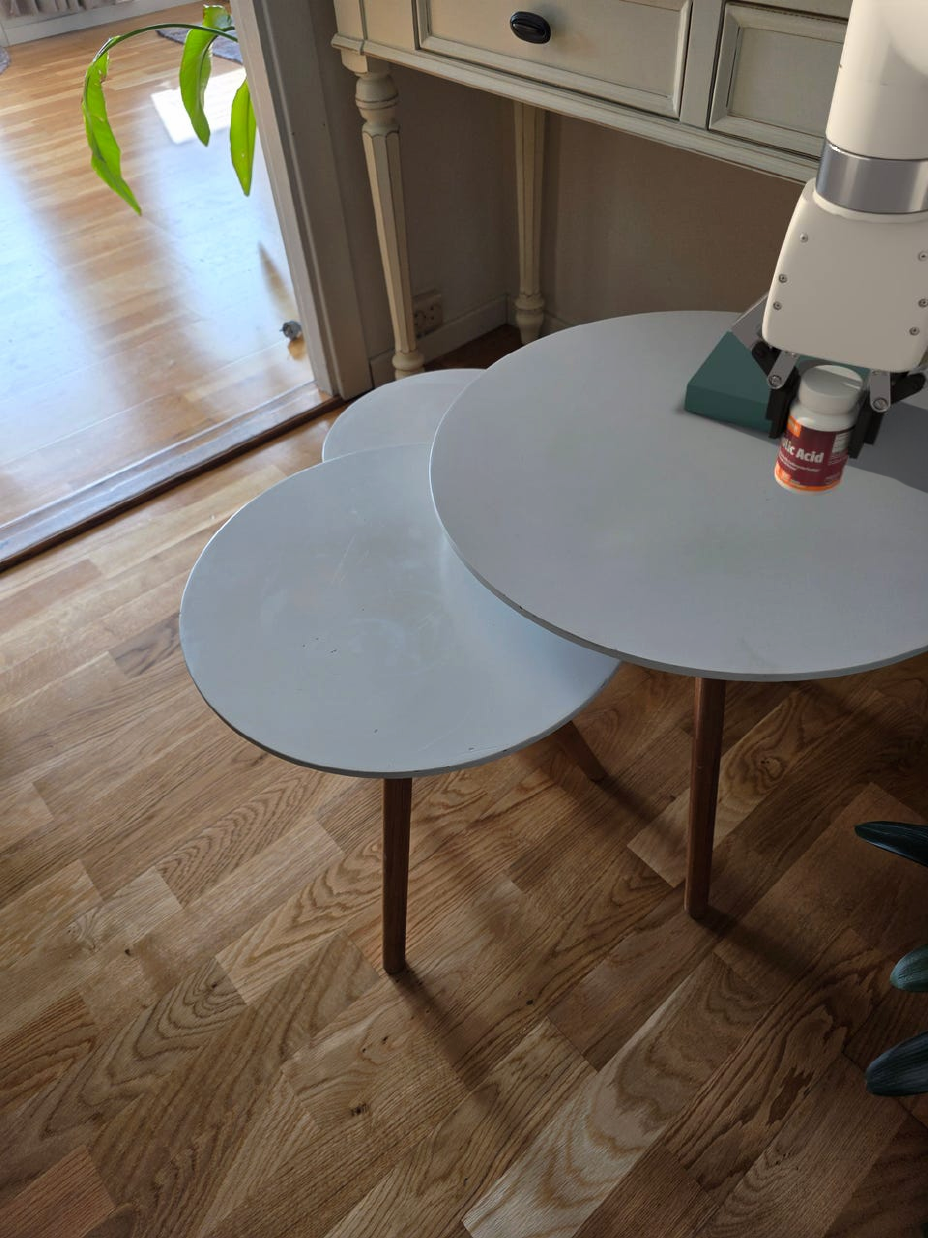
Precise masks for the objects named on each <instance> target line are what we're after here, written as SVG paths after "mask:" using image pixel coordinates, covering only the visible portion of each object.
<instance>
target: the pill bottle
mask: <svg viewBox="0 0 928 1238" xmlns="http://www.w3.org/2000/svg"><path fill="white" fill-rule="evenodd" d="M863 386H864V383H863V379H862V378H861V377H860V376H859V375H858V374H857V373H856V372H854V371H852V370H850V369H847V368H844V367H840V366H833V365H824V366H817V367H814V368H811V369H809V370H807V371H806V372H805V373H804V374H803V376H802V379H801V383H800V387H799V390H798V395H797V396H796V397H795V398H794V399H793V400H792V402H791V404H790V407H789V411H788V415H787V420H786V424H785V429H784V433H783V436H781V442H780V447H779V451H778V454H777V459H776V464H775V467H774V479H775V480H776V482H777V483H778V484H779V485H780V486H781V487H782V488H783V489H785V490H786V491H788V492H790V493H792V494H794V495H798V496H802V497H820V496H821V497H822V496H824V495H828V494H830V493H832V492H834V491H836V490H837V488H838V487H839V486H840V484H841V481H842V478H843V475H844V472H845V468H846V465H847V462H848V459H849V456H848V455H847V452H848V449H849V445H850V442H851V438H852V435H853V432H854V428H855V425H856V422H857V418H858V415H859V412H860V409H861V406H860V405H859V403H860V401H861V399H860V398H862V397H861V394H862V390H863Z"/></svg>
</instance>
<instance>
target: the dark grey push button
mask: <svg viewBox="0 0 928 1238" xmlns="http://www.w3.org/2000/svg"><path fill="white" fill-rule="evenodd" d="M824 365H833V364H831V363H829V362H827V361H823V360H806V361H803V362H801V363H800V364H798V366H797V367H796V368H797V369H798V371H799V375H801V378H800V382H799V386H798V390H799V387H800V383H801V379H802V376H803V374H804V373H805V372H806V371H807V370H809V369H811V368H814V367H817V366H824ZM833 366H835V365H833Z"/></svg>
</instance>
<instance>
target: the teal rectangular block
mask: <svg viewBox="0 0 928 1238" xmlns="http://www.w3.org/2000/svg"><path fill="white" fill-rule="evenodd" d="M806 360H823V361H827V362H829V363H831V364H833V365H835V366H840V367H844V368H847V369H850V370H852V371H854V372H856V373H857V374H858V375H859V376H860V377H861V378H862V379H863V383H864V386H863V390H862V394H861V398H863V395H864V393H865V391H866V389H867V386H868V383H869V381H870V369H868V368H863V367H858V366H853V365H848V364H843V363H838V362H833V361H829V360H824V359H819V358H814V357H810V356H805V355H801V356H800V358H799V360H798V362H797V363H796V365H795V366H796V367H797V366H798V364H800V363H801V362H803V361H806ZM770 391H771V387H769V385H768V384H767V376H766V374H765V373H764V372H763V370H762V369H761V368H760V366H759V365H758V363H757V362H756V361H755V359H754V358H753V356H752V353H751V351H750V350H749V349H747V348H746V347H745V346H744V345H743V344H742V343H741V342H740V341H739V340H738V339H737V338H736V336H735V335H734V334H733V333H732V331H728V330H727V331H726V332H725V333H724V335H723V336H722V337H721V338H720V340H719V341H718V343H717V344H716V345H715V347H714V348H713V350H712V351H711V352H710V353H709V355H708V356H707V357H706V358H705V359H704V361H703V363H702V364H701V365H700V367H698V369H697V371H696V372H695V373H694V374H693V375H692V377H691V379H689V381H688V382H687V384H686V390H685V397H684V405H683V410H684V411H686V412H690V413H694V414H699V415H703V416H706V417H709V418H713V419H718V420H721V421H725V422H729V423H732V424H737V425H740V426H744V427H748V428H752V429H756V430H760V431H764V432H767V433H770V429H771V424H772V421H769V420H765V415H766V410H767V406H768V401H769V396H770ZM797 395H798V391H797ZM797 395H796V396H797ZM861 398H860V400H861ZM783 433H784V432H783ZM783 433H782V435H781V437H783Z"/></svg>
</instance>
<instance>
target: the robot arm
mask: <svg viewBox="0 0 928 1238" xmlns="http://www.w3.org/2000/svg"><path fill="white" fill-rule="evenodd" d="M846 27H847V28H846V31H845V37H844V40H843V41H844V42H843V47H842V52H841V56H840V62H839V64H838V65H839V66H838V71H837V76H836V81H835V86H834V88H833V89H834V90H833V94H832V98H831V99H832V100H831V105H830V110H829V113H828V119H827V123H826V127H825V128H826V129H825V135H824V139H823V143H822V147H821V153H820V158H819V162H818V168H817V173H816V176H815V177H813V178H810V179H809V180H808V181H807V182H806V183H805V185H804V187H803V189H802V191H801V194H800V196H799V198H798V201H797V202H796V205H795V208H794V211H793V213H792V216H791V219H790V222H789V224H788V227H787V230H786V233H785V237H784V240H783V242H782V246H781V250H780V253H779V256H778V260H777V262H776V266H775V269H774V274H773V278H772V282H771V285H770V289H769V290H768V291H767V292H765V293H764V294H763V295H762V296H761V297H760V298H759V299H757V300H756V301H755V302H754V303H752V304H751V306H749V307H748V308H747V309H746V310H745V311H743V312H742V313H741V314H740V315H739V316H738V317H737V318H736V320H735V321H734V322H733V324H732V325H731V327H730V332H732V333H733V334H734V335H735V336H736V338H737V339H738V340H739V341H740V342H741V343H742V344H743V345H744V346H745V347H746V348H747V349H749V350H750V351H751V353H752V356H753V358H754V359H755V361H756V362H757V363H758V365H759V366H760V368H761V369H762V370H763V372H764V373H765V374H766V376H767V384H768V385H769V387H771V391H770V396H769V401H768V406H767V410H766V415H765V420H769V421H772V424H771V429H770V432H769V434H768V438H769V439H770V440H777V439H780V438H782V433H783V432H784V429H785V424H786V420H787V415H788V411H789V407H790V404H791V402H792V400H793V399H794V398H795V397H796V395H797V391H798V386H799V382H800V378H801V375H799V371H798V369H797V368H796V366H795V365H796V363H797V362H798V360H799V358H800V356H801V355H805V356H810V357H814V358H819V359H824V360H829V361H833V362H838V363H843V364H848V365H853V366H858V367H863V368H868V369H870V377H869V391H868V393H867V394H866V397H865V399H864V401H863V402H862V405H861V406H860V412H859V415H858V418H857V422H856V425H855V428H854V432H853V435H852V438H851V442H850V445H849V449H848V452H847V455H848V459H853V460H857V459H858V458H859V455H860V454H861V451H862V449H863V447H864V445H865V444H866V445H871V446H875V443H876V441H877V438H878V435H879V434H880V431H881V427H882V424H883V421H884V418H885V414H886V412H887V411H888V410H889V408H890V407H891V406H893V405H895V404H897V403H899V402H901V401H903V400H905V399H907V398H909V397H911V396H913V395H916V394H917V393H920V392H921V391H922V390H923V389H925V388H928V361H926V362H925V363H923V364H920V363H921V361H922V359H923V357H924V356H925V355H924V354H925V353H928V0H852V3H851V8H850V12H849V17H848V23H847V26H846Z"/></svg>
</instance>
